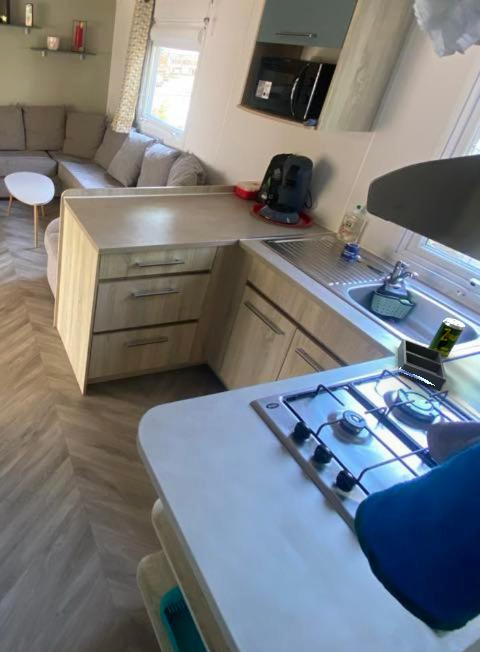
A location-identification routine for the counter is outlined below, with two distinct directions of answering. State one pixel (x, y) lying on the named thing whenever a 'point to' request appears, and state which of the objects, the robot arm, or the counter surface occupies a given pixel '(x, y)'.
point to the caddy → (421, 364)
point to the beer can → (447, 336)
